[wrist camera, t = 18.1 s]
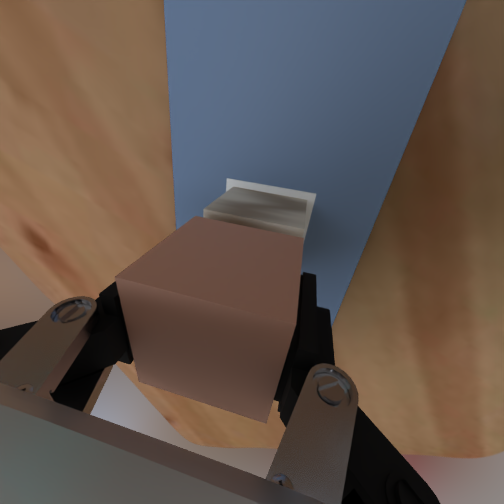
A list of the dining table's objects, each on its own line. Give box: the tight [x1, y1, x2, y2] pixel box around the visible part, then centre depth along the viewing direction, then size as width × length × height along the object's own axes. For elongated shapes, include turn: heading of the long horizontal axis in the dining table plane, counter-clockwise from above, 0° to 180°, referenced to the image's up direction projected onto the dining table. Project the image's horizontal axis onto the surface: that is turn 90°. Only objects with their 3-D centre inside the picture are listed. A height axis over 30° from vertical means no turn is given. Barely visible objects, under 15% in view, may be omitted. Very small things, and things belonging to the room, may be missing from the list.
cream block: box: [203, 186, 307, 238], centre depth 14 cm, size 5×5×5 cm
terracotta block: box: [115, 216, 304, 423], centre depth 9 cm, size 5×5×5 cm
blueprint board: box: [164, 0, 466, 327], centre depth 17 cm, size 14×25×1 cm, turn 173°
